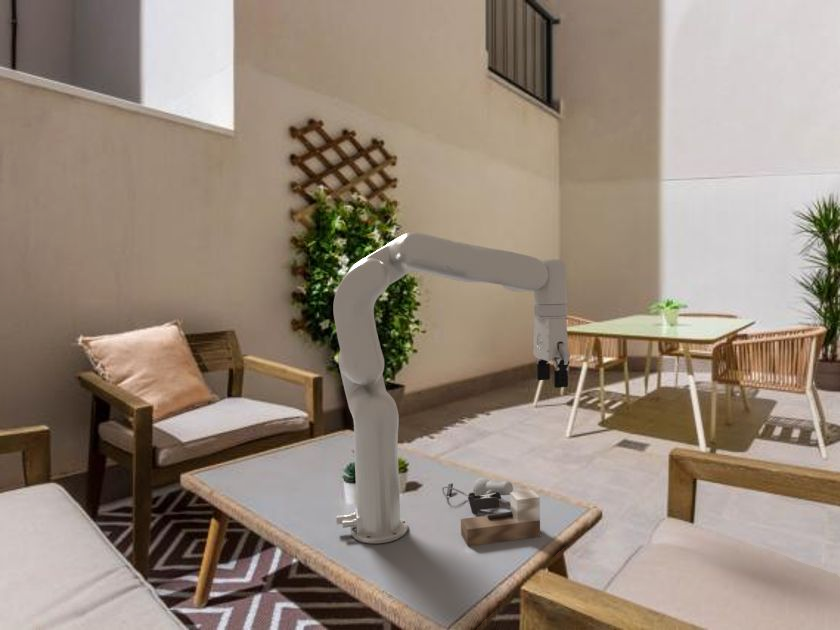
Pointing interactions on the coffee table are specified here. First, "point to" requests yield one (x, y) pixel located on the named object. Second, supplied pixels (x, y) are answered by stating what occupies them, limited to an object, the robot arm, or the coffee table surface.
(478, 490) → the clip-on lamp
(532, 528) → the charging dock
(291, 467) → the coffee table surface
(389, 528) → the robot arm
